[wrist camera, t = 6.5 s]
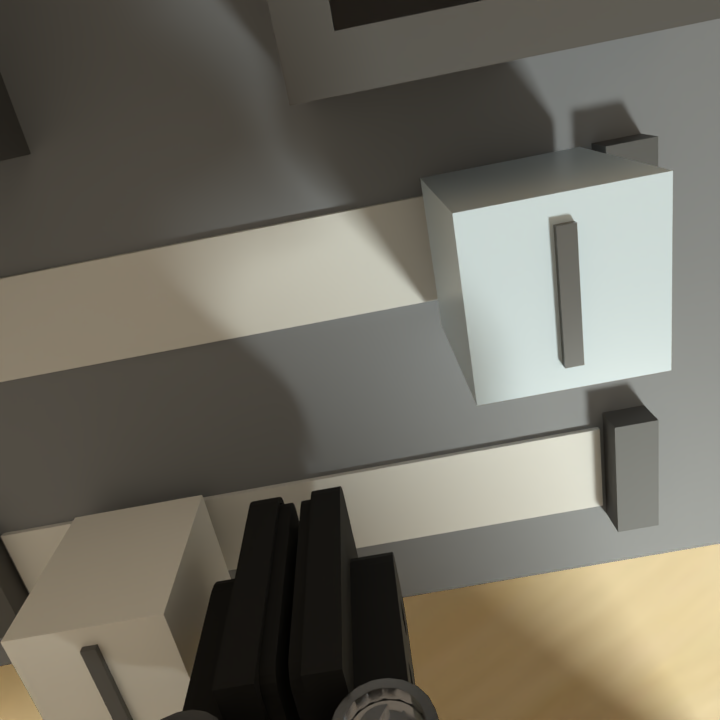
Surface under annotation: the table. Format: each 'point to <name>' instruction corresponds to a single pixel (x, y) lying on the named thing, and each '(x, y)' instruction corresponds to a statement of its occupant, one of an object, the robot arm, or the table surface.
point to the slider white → (119, 613)
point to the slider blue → (553, 270)
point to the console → (334, 275)
